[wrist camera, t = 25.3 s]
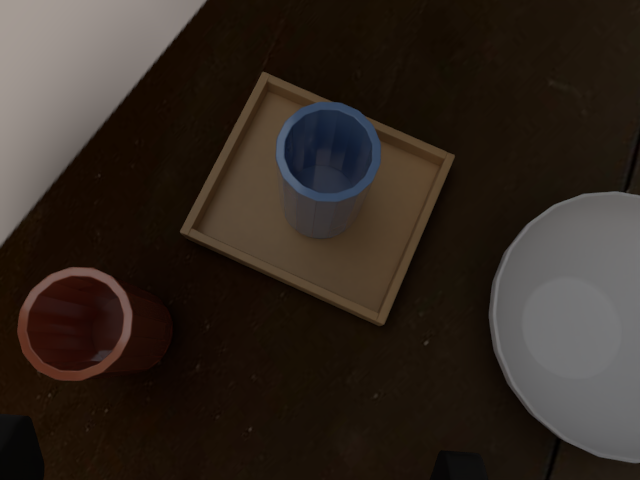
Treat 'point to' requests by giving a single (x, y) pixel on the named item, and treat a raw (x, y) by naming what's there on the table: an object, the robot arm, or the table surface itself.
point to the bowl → (575, 322)
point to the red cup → (92, 326)
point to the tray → (297, 249)
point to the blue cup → (325, 167)
